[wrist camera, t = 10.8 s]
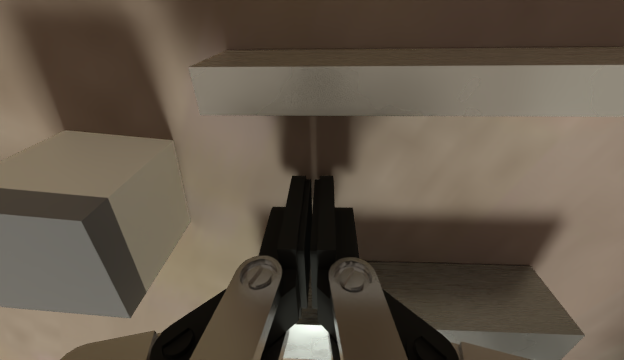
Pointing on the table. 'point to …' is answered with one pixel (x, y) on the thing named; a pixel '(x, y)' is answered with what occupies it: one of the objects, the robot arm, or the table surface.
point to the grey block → (88, 222)
